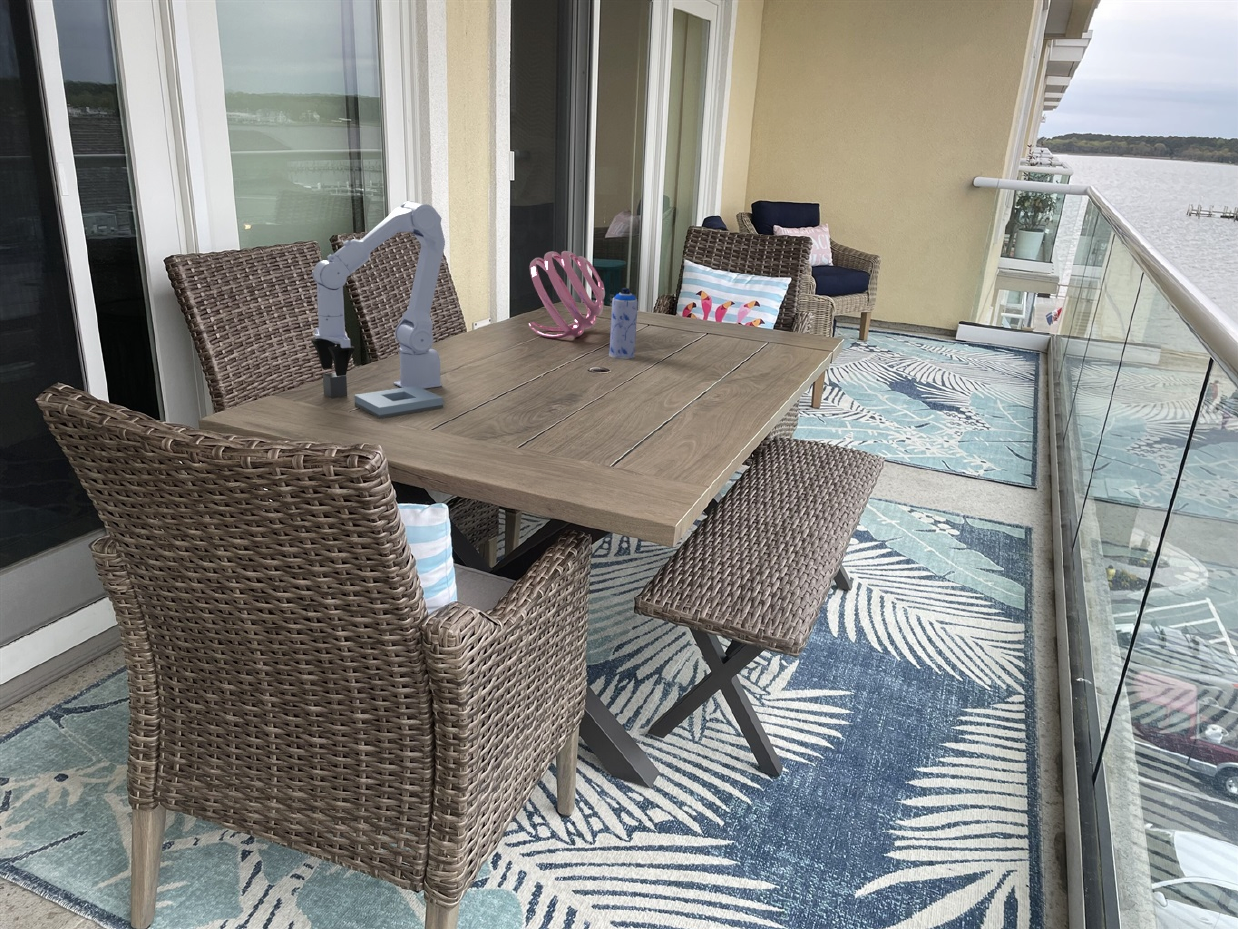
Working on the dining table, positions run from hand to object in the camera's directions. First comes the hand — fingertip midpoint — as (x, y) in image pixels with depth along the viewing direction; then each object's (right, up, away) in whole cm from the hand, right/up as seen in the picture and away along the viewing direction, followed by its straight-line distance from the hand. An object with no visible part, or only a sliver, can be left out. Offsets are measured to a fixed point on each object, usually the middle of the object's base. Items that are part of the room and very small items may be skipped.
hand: (334, 372), depth 211 cm
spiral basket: (+49, +20, +79) cm, 95 cm away
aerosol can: (+68, +11, +57) cm, 89 cm away
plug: (0, -5, +2) cm, 6 cm away
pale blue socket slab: (+16, -8, -4) cm, 19 cm away
